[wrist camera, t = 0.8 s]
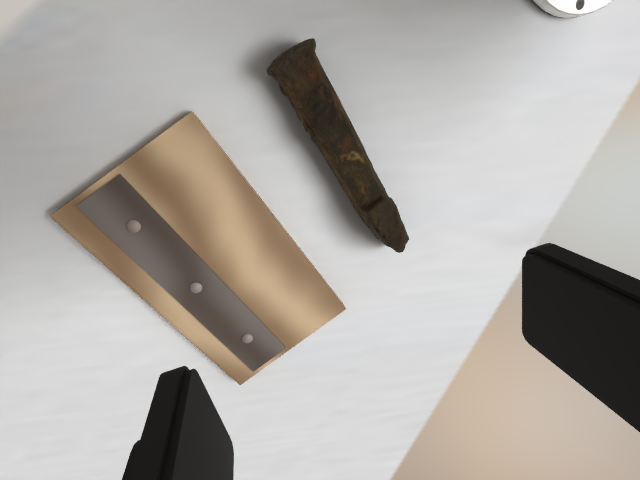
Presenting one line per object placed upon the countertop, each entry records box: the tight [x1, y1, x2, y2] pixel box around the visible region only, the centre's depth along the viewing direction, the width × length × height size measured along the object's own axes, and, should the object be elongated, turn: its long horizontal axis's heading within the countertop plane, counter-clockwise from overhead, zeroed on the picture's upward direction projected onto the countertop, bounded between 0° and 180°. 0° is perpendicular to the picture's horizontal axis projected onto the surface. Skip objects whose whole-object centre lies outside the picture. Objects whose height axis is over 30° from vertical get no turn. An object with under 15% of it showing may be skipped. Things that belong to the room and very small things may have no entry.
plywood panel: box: [50, 112, 346, 385], centre depth 30 cm, size 13×22×1 cm, turn 34°
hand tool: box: [267, 38, 409, 252], centre depth 28 cm, size 19×4×5 cm, turn 29°
